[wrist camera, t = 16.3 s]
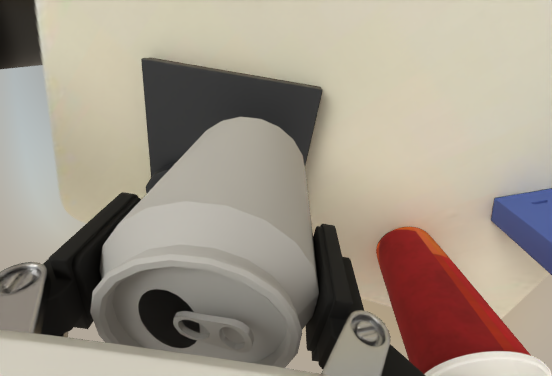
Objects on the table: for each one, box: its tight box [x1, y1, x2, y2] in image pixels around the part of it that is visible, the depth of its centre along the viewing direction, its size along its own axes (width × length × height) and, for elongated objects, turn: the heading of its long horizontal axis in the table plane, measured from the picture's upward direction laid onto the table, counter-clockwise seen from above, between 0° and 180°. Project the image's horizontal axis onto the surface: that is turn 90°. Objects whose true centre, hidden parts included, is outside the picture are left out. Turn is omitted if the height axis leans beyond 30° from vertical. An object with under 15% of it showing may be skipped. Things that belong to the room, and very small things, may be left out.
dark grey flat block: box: [142, 58, 322, 193], centre depth 24 cm, size 14×14×3 cm
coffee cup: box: [376, 227, 552, 376], centre depth 23 cm, size 8×8×15 cm
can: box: [90, 117, 319, 368], centre depth 13 cm, size 8×8×12 cm
